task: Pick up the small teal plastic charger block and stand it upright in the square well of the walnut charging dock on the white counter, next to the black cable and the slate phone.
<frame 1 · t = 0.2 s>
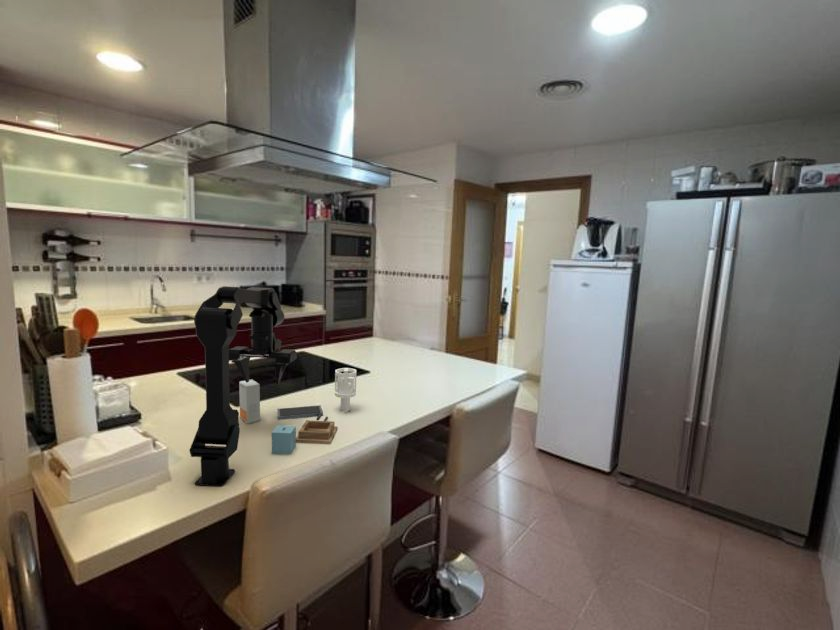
hand: (262, 383, 120), 14 cm above the countertop, fingers open, 9 cm apart
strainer: (345, 410, 140), on the countertop
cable: (324, 422, 129), on the countertop
charger: (284, 450, 110), on the countertop
skincare box: (250, 419, 129), on the countertop
phone: (299, 413, 135), on the countertop
dock: (317, 435, 120), on the countertop
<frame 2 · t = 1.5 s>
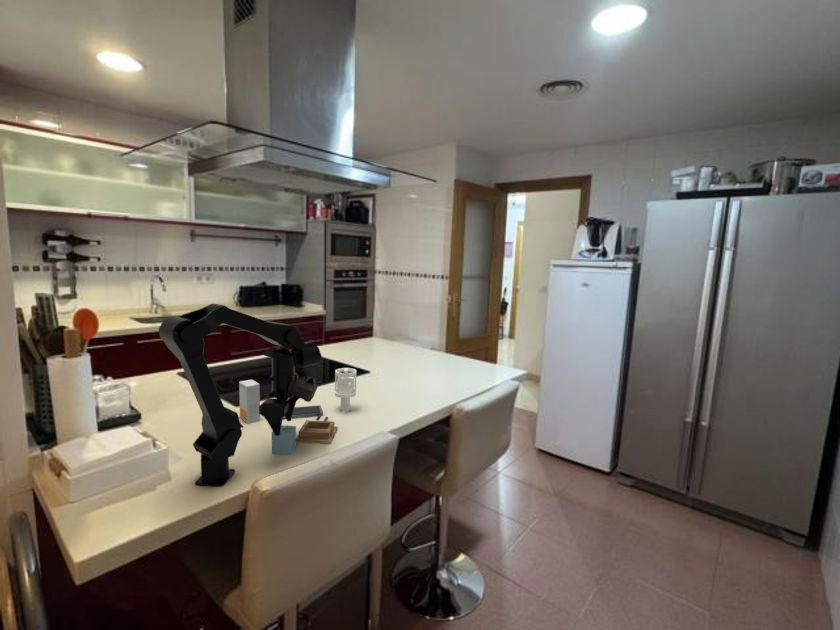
hand: (283, 427, 109), 6 cm above the countertop, fingers open, 9 cm apart
nothing on the countertop moved.
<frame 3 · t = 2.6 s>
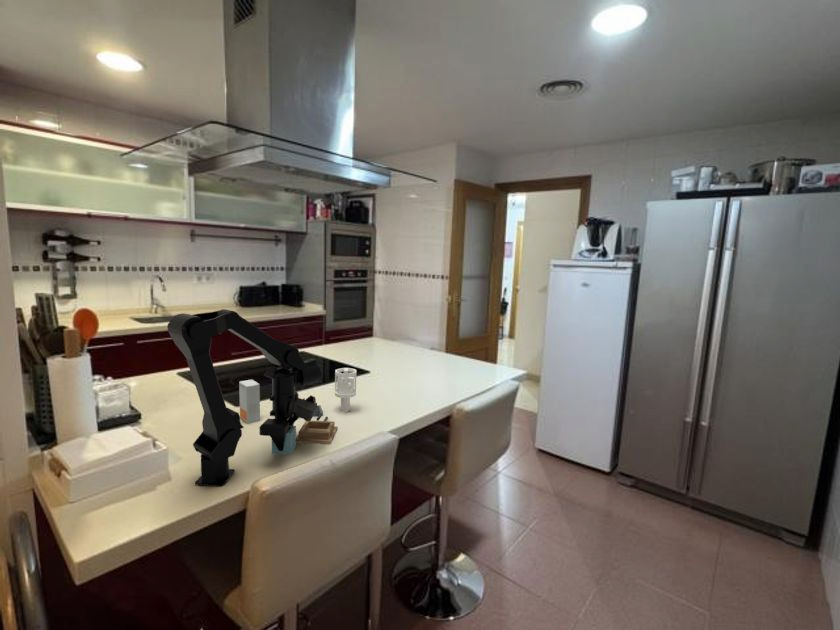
hand: (284, 446, 110), 1 cm above the countertop, fingers closed on charger, 4 cm apart
charger: (284, 450, 110), on the countertop, touching gripper
everything else where it was.
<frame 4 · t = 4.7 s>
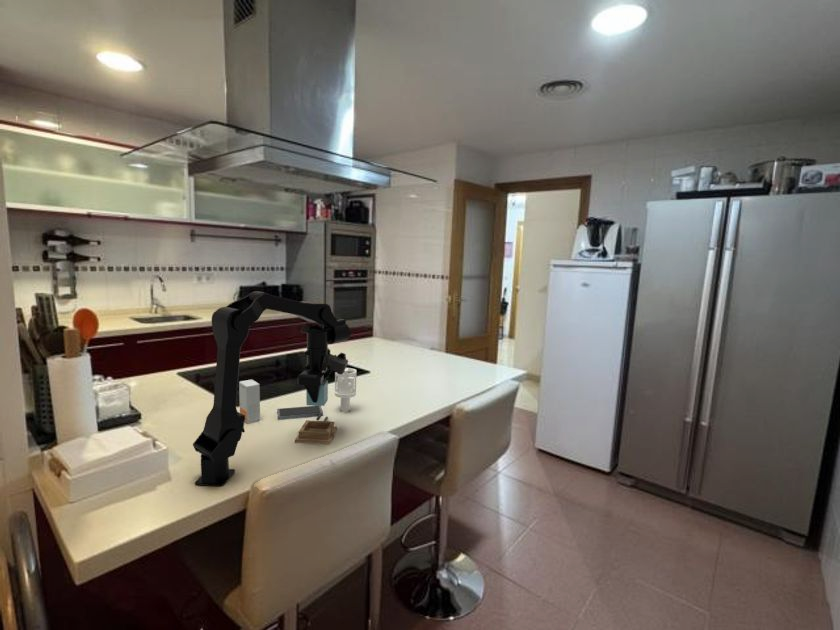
hand: (317, 399, 118), 11 cm above the countertop, fingers closed on charger, 4 cm apart
charger: (317, 402, 118), point 10 cm above the countertop, touching gripper
everything else where it was.
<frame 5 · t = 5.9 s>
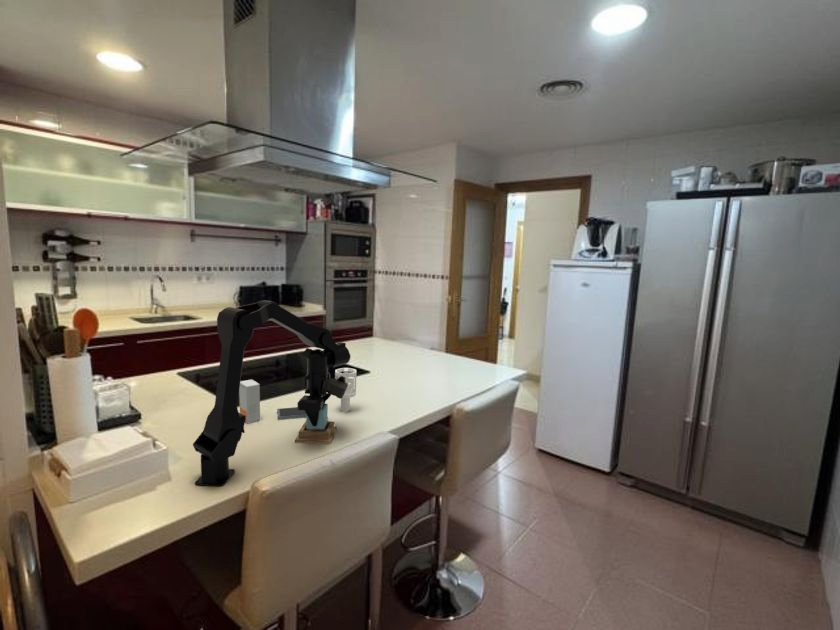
hand: (316, 422, 119), 4 cm above the countertop, fingers closed on charger, 4 cm apart
charger: (317, 425, 119), point 3 cm above the countertop, touching gripper
everything else where it was.
when the fingers open (3 cm above the countertop, at t = 6.8 s): charger drops 2 cm, resting on dock.
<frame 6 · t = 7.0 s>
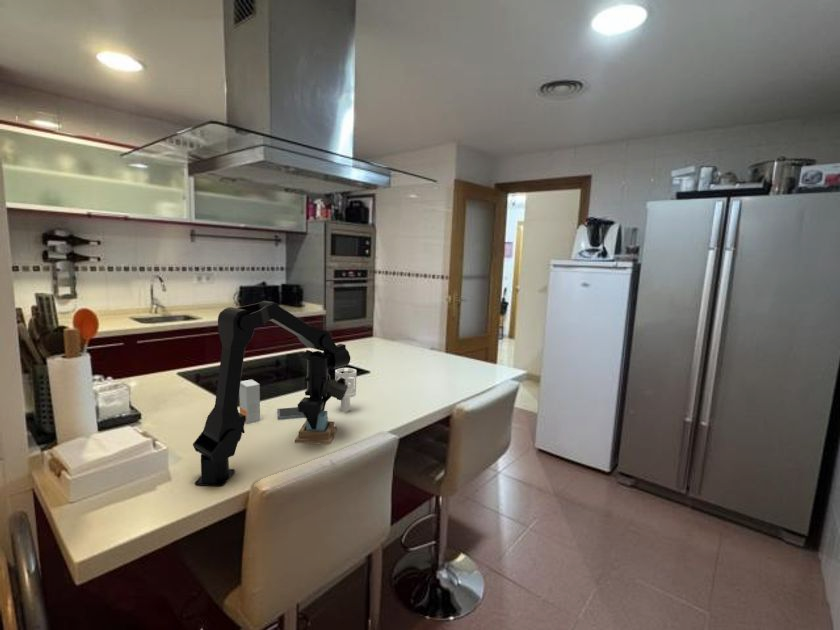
hand: (317, 424, 119), 3 cm above the countertop, fingers open, 7 cm apart
charger: (317, 433, 119), point 1 cm above the countertop, touching dock
everything else where it was.
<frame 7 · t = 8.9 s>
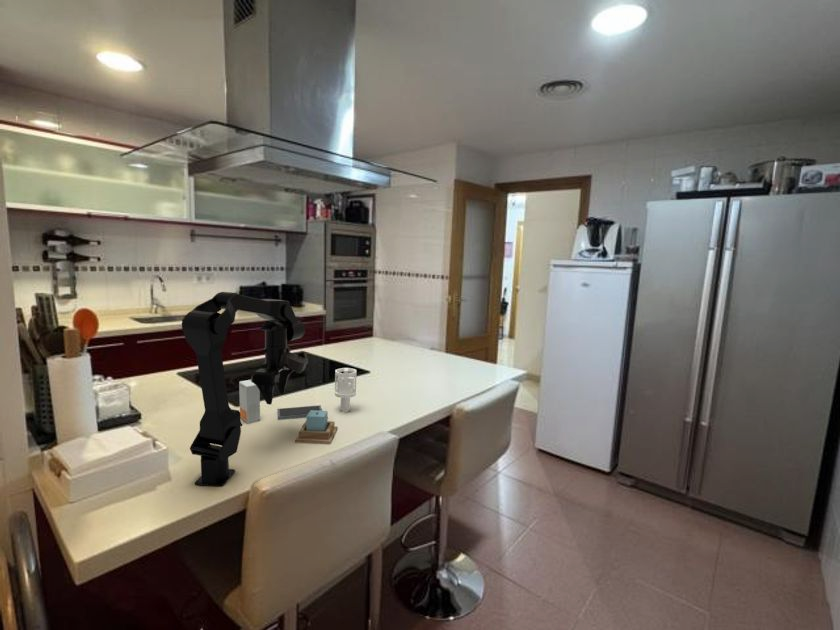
hand: (275, 398, 115), 12 cm above the countertop, fingers open, 9 cm apart
nothing on the countertop moved.
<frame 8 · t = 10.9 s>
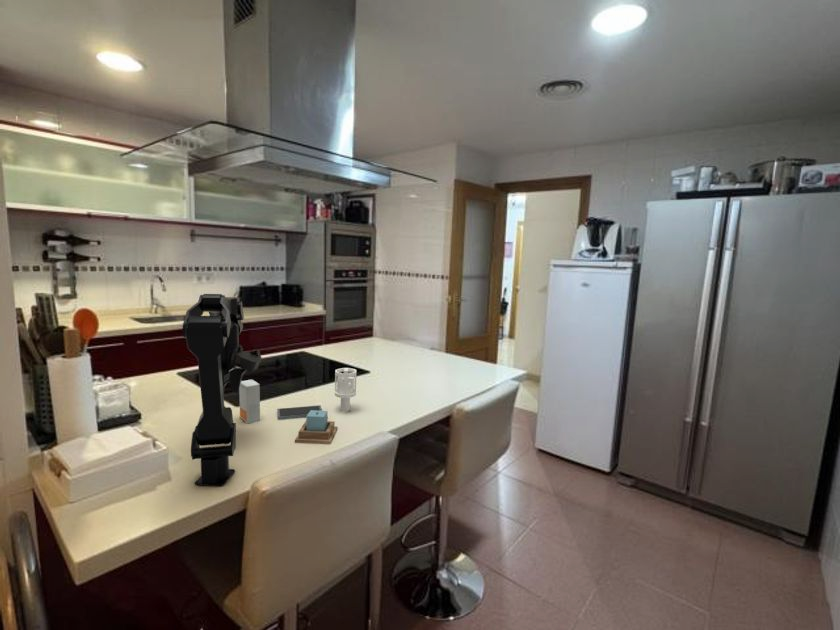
hand: (228, 398, 113), 12 cm above the countertop, fingers open, 9 cm apart
nothing on the countertop moved.
at the end: charger 0.1 cm off-centre on the dock, point 0.8 cm above the dock's base; charger tilted 0°; the gripper is holding nothing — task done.
